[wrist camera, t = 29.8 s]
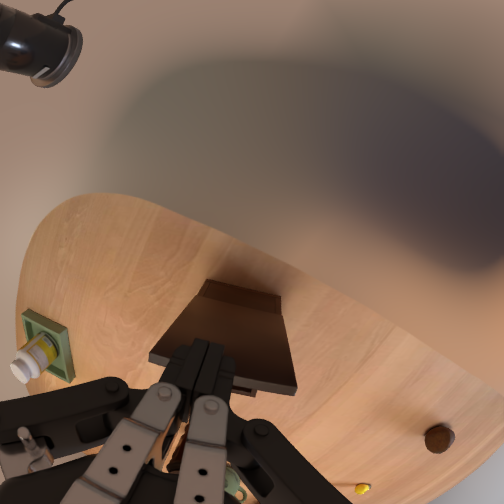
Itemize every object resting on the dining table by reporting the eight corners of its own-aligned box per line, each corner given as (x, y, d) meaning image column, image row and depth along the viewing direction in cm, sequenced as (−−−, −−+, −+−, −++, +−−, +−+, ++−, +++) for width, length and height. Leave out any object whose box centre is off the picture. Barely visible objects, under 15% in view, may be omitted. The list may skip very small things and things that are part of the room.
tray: (28, 308, 45) (21, 314, 42) (66, 327, 45) (59, 334, 42) (38, 357, 49) (32, 363, 46) (75, 376, 49) (69, 383, 46)
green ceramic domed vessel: (182, 469, 56) (175, 494, 48) (202, 453, 52) (195, 482, 44) (235, 488, 58) (232, 512, 49) (261, 473, 54) (259, 501, 46)
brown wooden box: (257, 373, 44) (254, 397, 38) (193, 358, 44) (184, 381, 38) (280, 296, 40) (281, 316, 34) (206, 278, 40) (196, 296, 34)
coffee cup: (191, 443, 51) (178, 488, 39) (172, 420, 49) (154, 468, 37) (227, 439, 50) (218, 489, 38) (209, 416, 48) (196, 469, 36)
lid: (294, 396, 18) (298, 387, 18) (147, 362, 18) (148, 352, 18) (281, 321, 34) (282, 315, 33) (194, 301, 34) (195, 294, 34)
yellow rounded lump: (356, 483, 55) (362, 490, 52) (370, 479, 57) (376, 485, 54) (350, 490, 55) (356, 497, 52) (364, 486, 57) (370, 493, 53)
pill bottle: (38, 345, 47) (8, 373, 36) (38, 324, 45) (5, 353, 34) (59, 361, 47) (31, 393, 36) (60, 341, 45) (28, 374, 34)
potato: (439, 439, 49) (447, 458, 42) (414, 440, 49) (421, 460, 42) (456, 422, 47) (466, 440, 40) (431, 422, 47) (441, 442, 40)
